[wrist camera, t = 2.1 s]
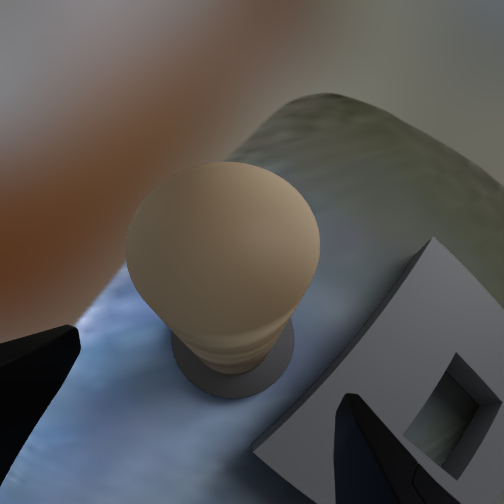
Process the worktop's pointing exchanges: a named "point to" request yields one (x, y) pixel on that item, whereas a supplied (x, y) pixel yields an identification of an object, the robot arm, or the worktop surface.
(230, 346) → the beech peg
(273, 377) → the pad
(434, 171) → the worktop surface
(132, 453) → the worktop surface
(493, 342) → the hole plate
